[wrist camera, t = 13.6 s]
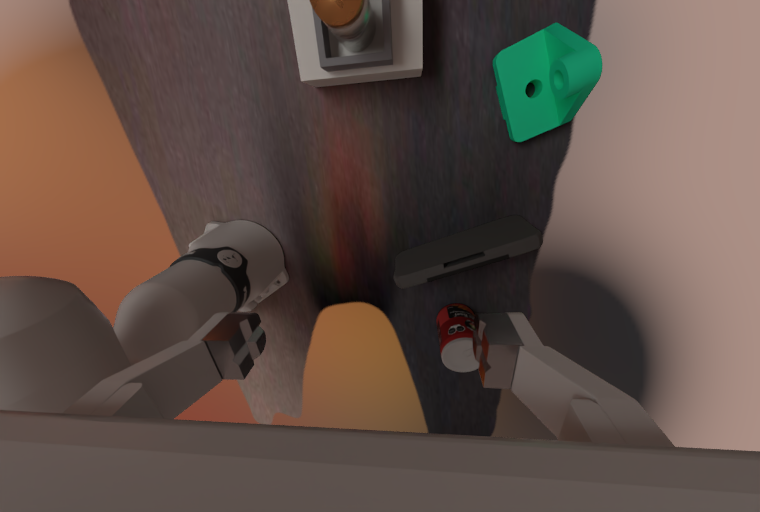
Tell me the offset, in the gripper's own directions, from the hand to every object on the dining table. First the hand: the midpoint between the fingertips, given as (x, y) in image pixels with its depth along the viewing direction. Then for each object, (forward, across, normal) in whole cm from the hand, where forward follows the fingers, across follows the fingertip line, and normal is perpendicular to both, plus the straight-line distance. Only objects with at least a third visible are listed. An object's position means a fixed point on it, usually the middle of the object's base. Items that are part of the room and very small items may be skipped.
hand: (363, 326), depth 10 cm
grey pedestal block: (+39, +4, -18) cm, 43 cm away
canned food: (+39, -11, +31) cm, 51 cm away
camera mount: (+40, -19, -10) cm, 45 cm away
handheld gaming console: (+39, -10, +13) cm, 43 cm away
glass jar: (+33, +4, -18) cm, 38 cm away
